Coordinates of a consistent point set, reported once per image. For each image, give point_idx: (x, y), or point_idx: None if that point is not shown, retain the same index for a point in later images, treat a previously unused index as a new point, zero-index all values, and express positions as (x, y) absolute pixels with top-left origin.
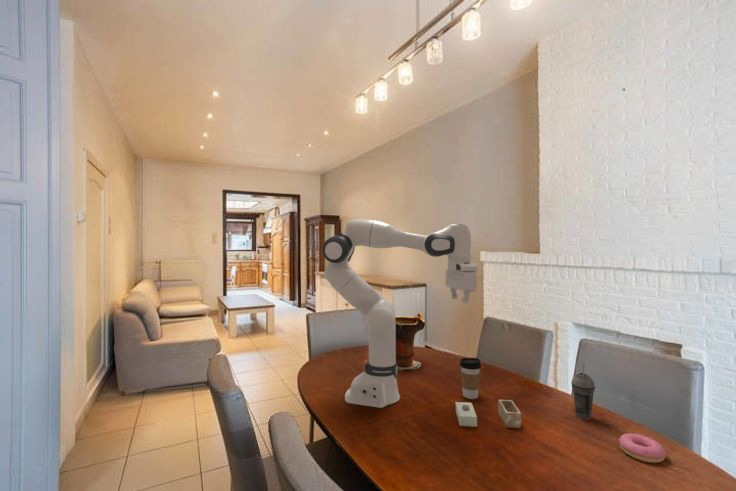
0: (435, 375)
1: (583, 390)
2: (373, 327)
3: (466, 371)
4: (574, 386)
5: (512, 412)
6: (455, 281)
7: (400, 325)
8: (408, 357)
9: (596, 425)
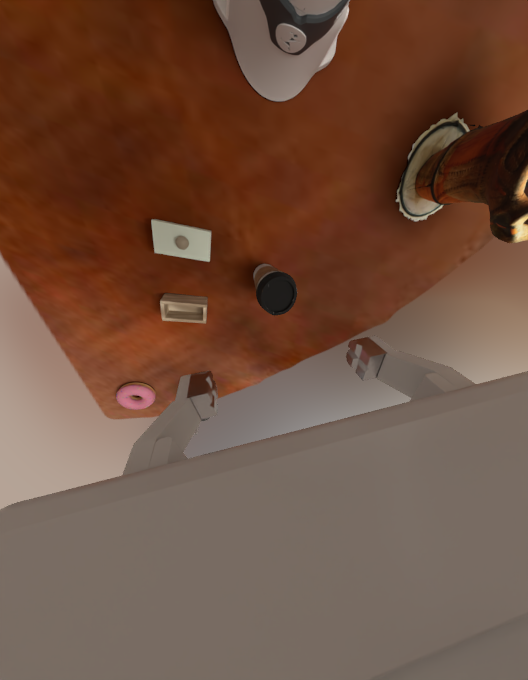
0: (354, 237)
1: None
2: None
3: (262, 278)
4: None
5: (162, 310)
6: (383, 553)
7: None
8: (431, 180)
9: None
